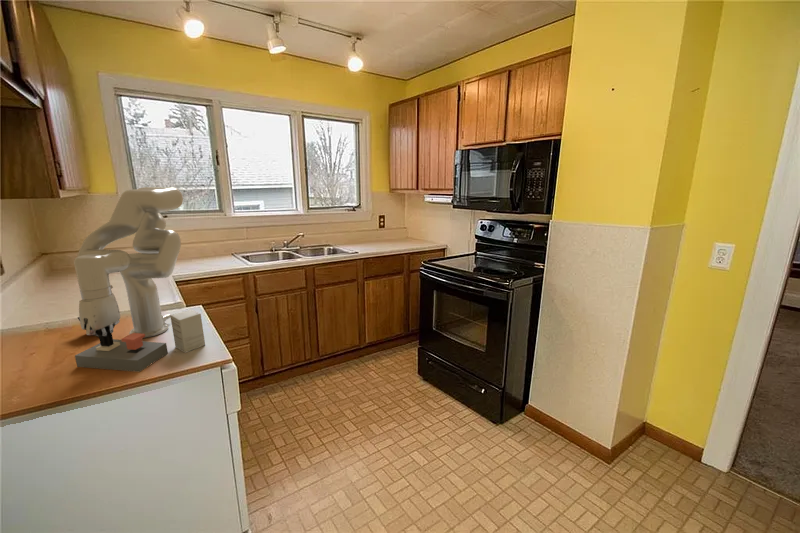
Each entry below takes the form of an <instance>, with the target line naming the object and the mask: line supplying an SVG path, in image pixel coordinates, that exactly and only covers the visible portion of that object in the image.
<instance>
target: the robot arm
mask: <svg viewBox="0 0 800 533" xmlns="http://www.w3.org/2000/svg"><path fill="white" fill-rule="evenodd" d="M183 202H184V197H183V194H182V192H181V191H180V190H179V189H177V187H168V186H167V187H165V186H163V187H162V186H161V187H160V186H159V187H158V186H144V187H140V188H138V189H128V190H125V191H123V192H122V194H121V195H120V197H119V199H118V200H117V203H116V206H115V207H114V210H113V212H112V214H111V216H110V218H109V220H108V221H107V222H106V223H104V224H102V225H101V226H99V227H98V228H96V229H95V230H94V231H92V232H91V233H90V234H89V235H88V236H86V238H85V239H84V241H83V242H82V244H81V246H80V248H79V251H78V253H77V256H76V257H75V258H74V259H73V266H74V270H75V274H76V279H77V283H78V287H79V292H80V296H81V297H80V298H81V299H80V300H79V302H78V315H79V316H78V317H80V321H79V322H80V323H79V324H80V327H81V330H84V331H86V332H85V334H86V336H95V335H94V334H96V335H97V336H99V337H98V339H99V343H100V344H101V346H108V347H109V346H111V345H113V344H114V343H113V339H114V338H113V333H114V328H115V326H116V325H118V324H119V323H120V321H121V320H120V319H121V311H120V308H119V305H118V304H119V303H118V301H117V299H116V296H115V294H114V293H113V292H112V289H113V288H114V287H113V285H112V284H111V281H110V276H109V274H114V273H119V274H120V276H121V278H122V280H123V282H124V285H125V286H124V287H125V289H126V293H127V294H126V295H127V301H128V305H129V311H130V317H131V321H132V327H133V328H132V329H131V330H130V331H129V333H128V335H130V334H132V333H141V334H145V337H144V338H143V339H145V338H152V337H155V336H158V335H161V334H162V333H165V332H166V331H168V329H169V324H168V323H166V321H167V320H169V319H171V317H170V315H171V314H170V313H166V314H165V315H163V314H162V308H161V302H160V297H159V289H158V287H157V284H156V283H155V281H154V280H153V279H166V278H168V277H170V276H171V275H172V274H173V272H174V270H175V266H176V263H177V261H178V257H179V255H180V252H181V251H180V250H181V246H182V245H181V244H182V242H181V241H182V240H181V236H180V235H179V234H178V233H177V232H176V231H175V230H173V229H166V226H167V221H166V220H165V217H164V216H163V215H162V214H161V213H166V212H169V211H174V210H176V209H179V208H180V207H181V206H182V204H183ZM131 235H134V236H133V240H132V248H133V249H134V251H135V252H136V253H135V252H133V253H128V252H127V251H124V250H121V249H105V248H106V247H107V246H108V245H110V244H111V243H114V242H116V241H118V240H121V239H124V238H126V237H130V236H131ZM97 336H96V337H97Z"/></svg>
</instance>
